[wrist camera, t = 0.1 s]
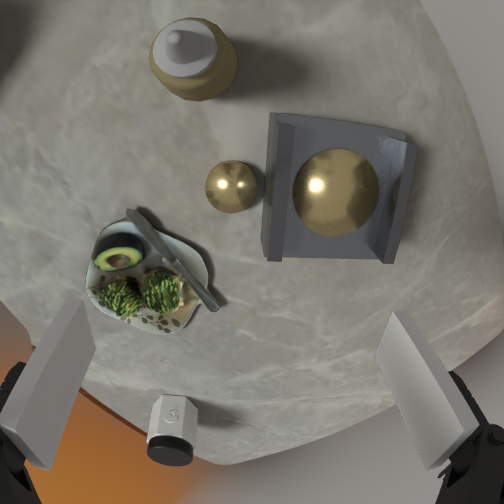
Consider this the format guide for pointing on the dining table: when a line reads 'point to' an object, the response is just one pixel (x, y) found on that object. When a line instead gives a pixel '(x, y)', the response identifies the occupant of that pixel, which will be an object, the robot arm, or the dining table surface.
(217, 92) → the squeeze bottle
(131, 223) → the avocado toast plate
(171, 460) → the jar
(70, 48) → the dining table surface
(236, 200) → the brass dome knob
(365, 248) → the grey rimmed block
